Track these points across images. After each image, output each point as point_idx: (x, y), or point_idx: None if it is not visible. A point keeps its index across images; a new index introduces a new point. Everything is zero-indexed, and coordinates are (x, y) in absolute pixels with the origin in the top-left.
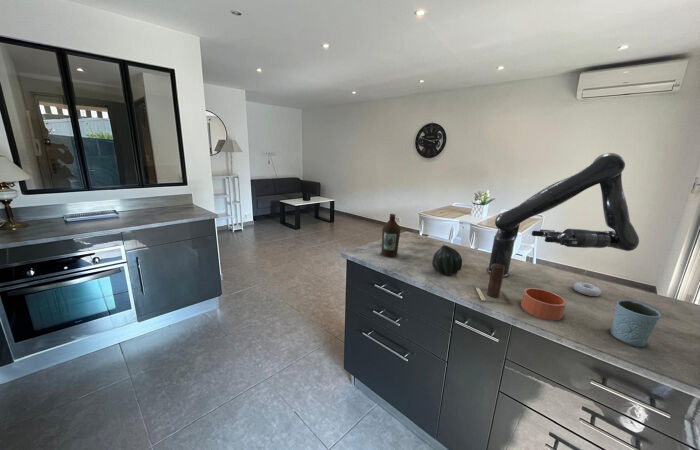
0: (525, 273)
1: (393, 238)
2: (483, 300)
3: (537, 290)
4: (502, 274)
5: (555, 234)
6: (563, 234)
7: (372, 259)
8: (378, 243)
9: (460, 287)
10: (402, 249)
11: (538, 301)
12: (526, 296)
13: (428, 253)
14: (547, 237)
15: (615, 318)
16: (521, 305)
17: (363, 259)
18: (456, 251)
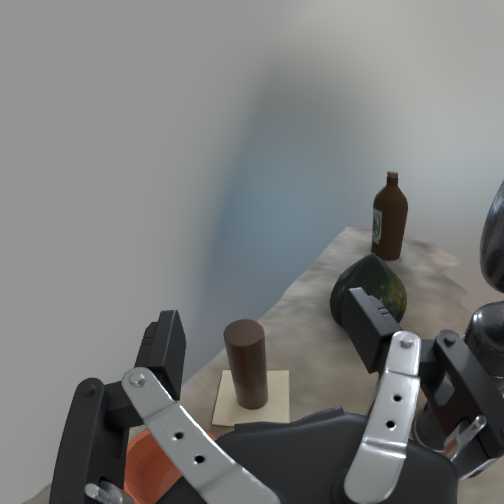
0: (486, 494)
1: (377, 219)
2: (222, 373)
3: None
4: (229, 357)
5: (296, 427)
6: (213, 476)
7: (344, 243)
8: (423, 240)
9: (283, 344)
10: (428, 263)
11: (140, 433)
12: None
13: (448, 293)
14: (163, 316)
15: None
16: None
17: (336, 237)
18: (381, 284)
